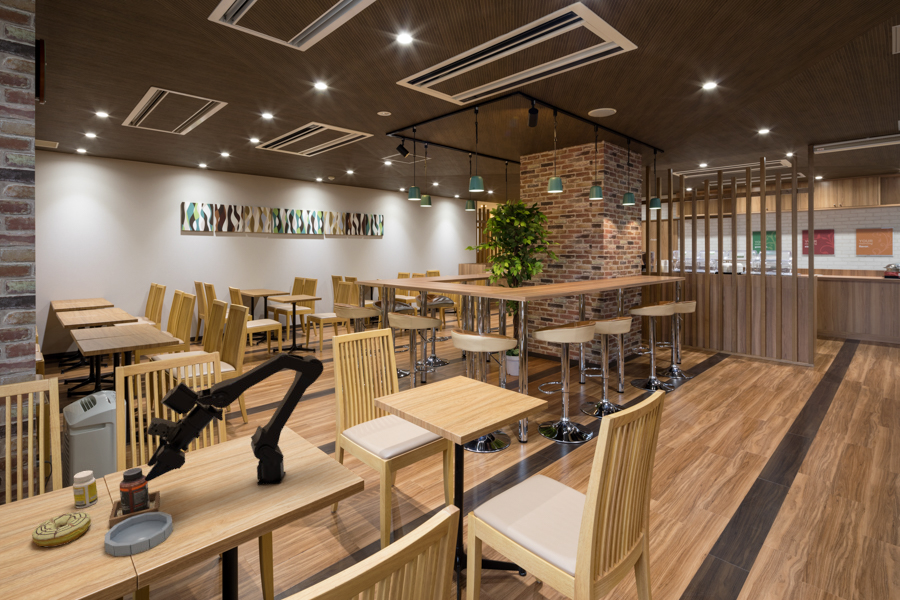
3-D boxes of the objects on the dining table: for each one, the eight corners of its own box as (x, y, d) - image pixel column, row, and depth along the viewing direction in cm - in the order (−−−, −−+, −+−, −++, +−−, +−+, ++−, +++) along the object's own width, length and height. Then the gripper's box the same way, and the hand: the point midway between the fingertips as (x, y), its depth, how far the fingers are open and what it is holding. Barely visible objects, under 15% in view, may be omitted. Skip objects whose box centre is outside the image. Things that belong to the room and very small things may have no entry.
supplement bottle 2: (155, 506, 119) (152, 466, 118) (138, 520, 113) (134, 477, 112) (134, 505, 120) (131, 465, 118) (116, 518, 114) (112, 476, 113)
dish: (182, 519, 113) (181, 510, 113) (153, 553, 100) (153, 543, 100) (127, 522, 112) (126, 513, 112) (91, 557, 99) (90, 547, 99)
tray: (160, 498, 123) (159, 490, 123) (158, 516, 115) (157, 508, 114) (115, 508, 118) (114, 500, 118) (109, 528, 110) (108, 520, 109)
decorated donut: (72, 519, 114) (70, 505, 114) (101, 527, 111) (100, 512, 110) (22, 544, 104) (20, 529, 104) (53, 554, 101) (51, 538, 100)
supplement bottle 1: (96, 496, 124) (93, 467, 123) (99, 503, 121) (96, 473, 120) (74, 503, 121) (70, 473, 120) (76, 510, 118) (72, 480, 117)
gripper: (168, 397, 126) (123, 443, 121) (166, 417, 110) (113, 472, 105) (202, 419, 131) (159, 464, 126) (204, 442, 115) (155, 495, 110)
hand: (147, 472), depth 117 cm, fingers open, 9 cm apart
